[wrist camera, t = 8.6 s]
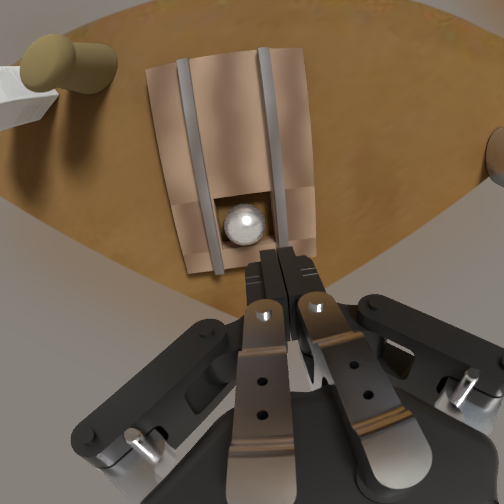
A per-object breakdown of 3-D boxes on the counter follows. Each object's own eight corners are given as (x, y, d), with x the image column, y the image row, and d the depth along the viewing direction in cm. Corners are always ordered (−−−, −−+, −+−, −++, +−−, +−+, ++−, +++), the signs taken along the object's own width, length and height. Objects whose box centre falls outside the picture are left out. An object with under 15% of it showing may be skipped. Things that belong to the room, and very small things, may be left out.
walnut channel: (297, 51, 24) (304, 46, 21) (312, 248, 35) (318, 261, 33) (150, 71, 24) (142, 68, 21) (190, 264, 35) (187, 278, 33)
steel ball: (267, 242, 33) (259, 204, 33) (271, 239, 29) (263, 196, 29) (228, 250, 33) (221, 211, 33) (227, 248, 28) (219, 204, 28)
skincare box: (18, 92, 22) (-49, 103, 11) (38, 65, 21) (-30, 66, 10) (40, 122, 24) (-28, 142, 14) (61, 95, 23) (-8, 104, 13)
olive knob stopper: (94, 104, 25) (36, 112, 15) (61, 78, 22) (0, 79, 13) (128, 59, 23) (79, 44, 13) (93, 34, 21) (37, 16, 11)
